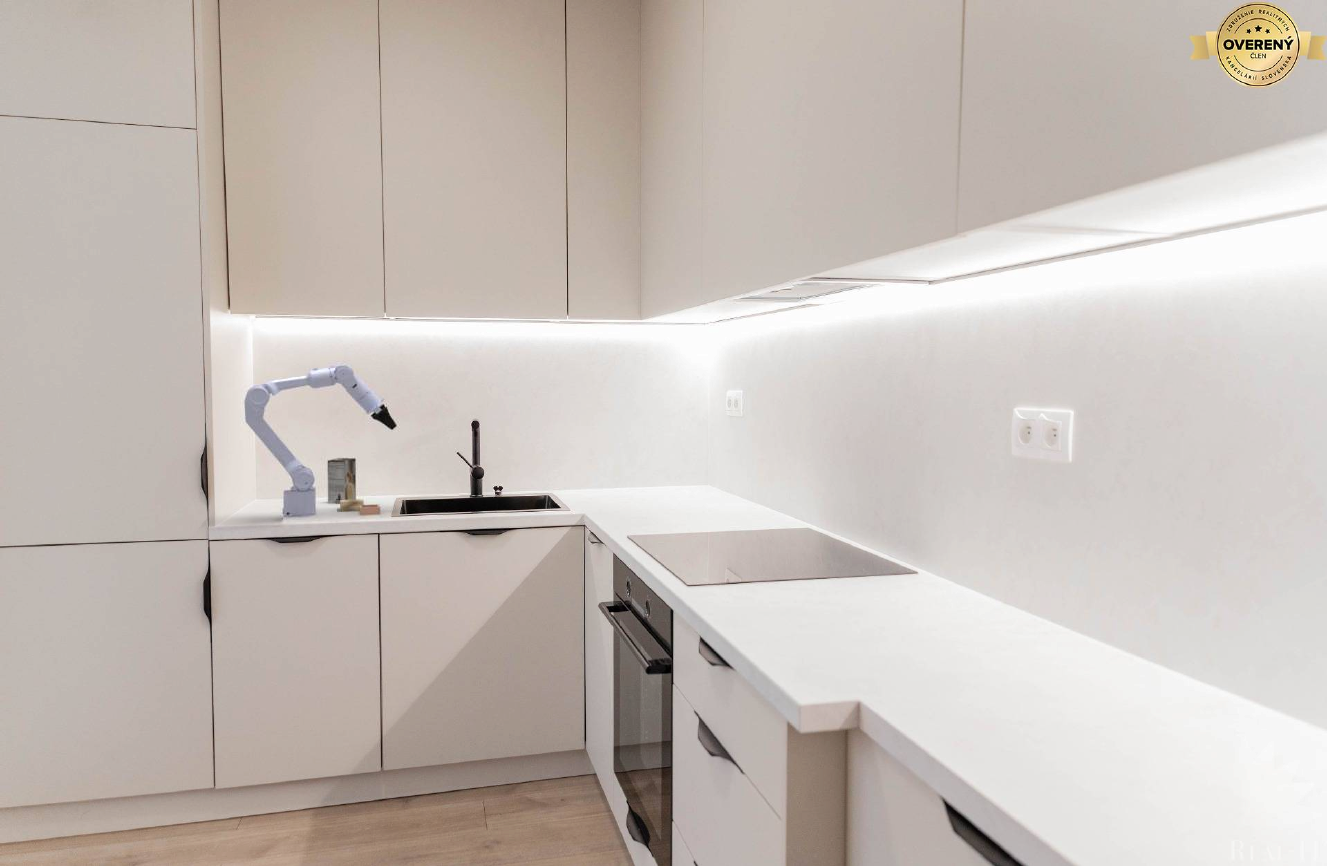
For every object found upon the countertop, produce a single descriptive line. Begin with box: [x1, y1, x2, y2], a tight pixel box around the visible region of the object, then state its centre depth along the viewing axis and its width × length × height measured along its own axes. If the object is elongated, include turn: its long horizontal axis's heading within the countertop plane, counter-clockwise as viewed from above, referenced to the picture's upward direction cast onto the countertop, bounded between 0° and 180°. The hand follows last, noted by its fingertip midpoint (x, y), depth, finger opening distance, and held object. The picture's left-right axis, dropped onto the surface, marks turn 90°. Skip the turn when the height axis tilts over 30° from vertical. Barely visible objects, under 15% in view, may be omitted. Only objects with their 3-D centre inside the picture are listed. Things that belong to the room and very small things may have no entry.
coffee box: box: [327, 457, 357, 505], centre depth 283 cm, size 9×6×16 cm
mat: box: [336, 508, 354, 513], centre depth 267 cm, size 9×7×1 cm
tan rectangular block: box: [339, 498, 365, 512], centre depth 267 cm, size 7×5×3 cm
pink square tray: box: [358, 503, 381, 516], centre depth 261 cm, size 6×6×4 cm
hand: (393, 426), depth 267 cm, fingers open, 7 cm apart
